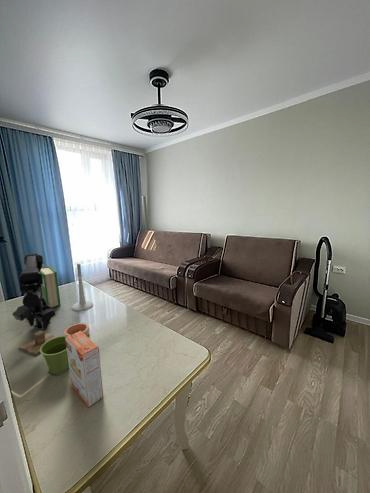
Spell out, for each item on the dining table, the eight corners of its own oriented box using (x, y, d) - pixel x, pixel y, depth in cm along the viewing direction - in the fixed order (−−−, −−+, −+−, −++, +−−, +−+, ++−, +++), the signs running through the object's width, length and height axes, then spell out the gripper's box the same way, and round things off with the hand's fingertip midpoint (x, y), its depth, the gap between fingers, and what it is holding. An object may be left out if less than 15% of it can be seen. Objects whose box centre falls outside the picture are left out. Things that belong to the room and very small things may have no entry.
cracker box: (70, 386, 79) (64, 336, 75) (86, 376, 83) (81, 329, 79) (87, 409, 70) (81, 355, 66) (104, 397, 74) (99, 345, 70)
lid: (19, 348, 98) (17, 337, 97) (44, 334, 109) (43, 323, 108) (36, 355, 94) (34, 343, 92) (60, 339, 104) (59, 329, 103)
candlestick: (86, 300, 148) (82, 259, 142) (97, 305, 141) (93, 262, 135) (68, 307, 138) (63, 263, 132) (78, 313, 130) (73, 267, 124)
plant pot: (52, 385, 79) (49, 359, 77) (37, 371, 85) (33, 347, 83) (82, 365, 89) (79, 341, 87) (66, 354, 95) (63, 332, 93)
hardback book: (60, 305, 140) (56, 271, 135) (47, 309, 135) (43, 274, 130) (53, 297, 152) (49, 265, 147) (41, 300, 147) (37, 268, 142)
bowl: (60, 340, 105) (59, 332, 104) (78, 328, 115) (77, 321, 114) (76, 346, 101) (75, 338, 100) (93, 333, 111) (93, 325, 110)
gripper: (1, 301, 92) (7, 332, 96) (28, 309, 86) (33, 343, 89) (27, 291, 103) (32, 320, 106) (54, 298, 96) (58, 329, 99)
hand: (38, 327), depth 100 cm, fingers open, 9 cm apart
